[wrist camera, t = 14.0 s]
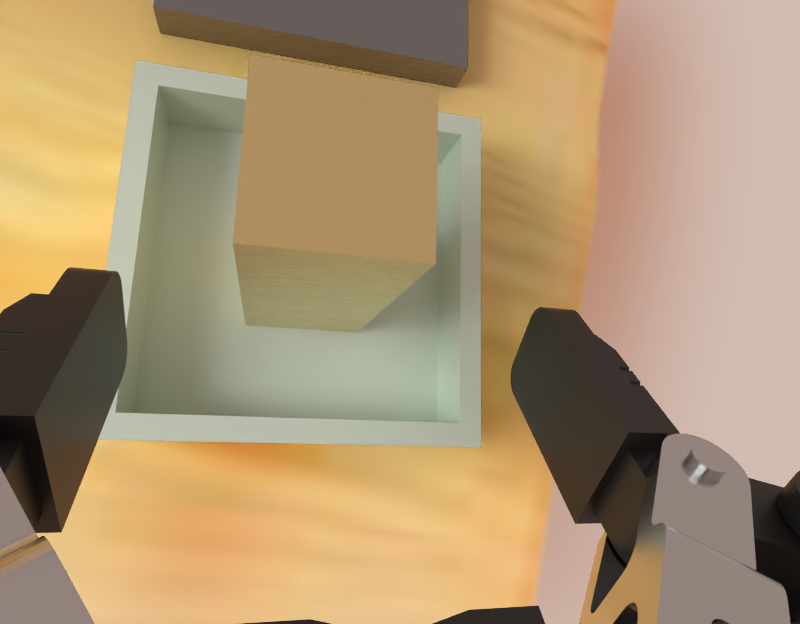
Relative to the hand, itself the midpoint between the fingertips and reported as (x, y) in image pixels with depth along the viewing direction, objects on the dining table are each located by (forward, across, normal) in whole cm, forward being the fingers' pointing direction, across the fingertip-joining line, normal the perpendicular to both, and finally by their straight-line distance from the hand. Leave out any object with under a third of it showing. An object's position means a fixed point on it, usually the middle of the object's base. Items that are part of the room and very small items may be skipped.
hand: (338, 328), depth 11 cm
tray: (+10, 0, +5) cm, 12 cm away
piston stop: (+10, 0, +5) cm, 11 cm away
